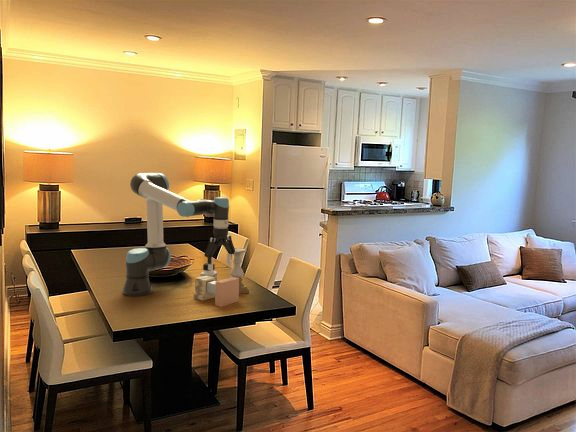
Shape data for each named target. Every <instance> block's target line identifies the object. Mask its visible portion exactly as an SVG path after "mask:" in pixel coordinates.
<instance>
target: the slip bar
mask: <svg viewBox="0 0 576 432" xmlns="http://www.w3.org/2000/svg"><path fill="white" fill-rule="evenodd" d="M206 292H210V293H214V294H215V292H216V281H213V280H211V281H207V282H206Z"/></svg>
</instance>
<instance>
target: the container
mask: <svg viewBox="0 0 576 432" xmlns="http://www.w3.org/2000/svg"><path fill="white" fill-rule="evenodd" d="M215 266H216V264H214V263H213V271H211V270H208V263H207V262H206V263H203V265H202V270H203V271H202V272H201V273H199V275H200V276H199V277H202V276H210V277H214V278H215V281H218V271H216V270H215Z"/></svg>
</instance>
